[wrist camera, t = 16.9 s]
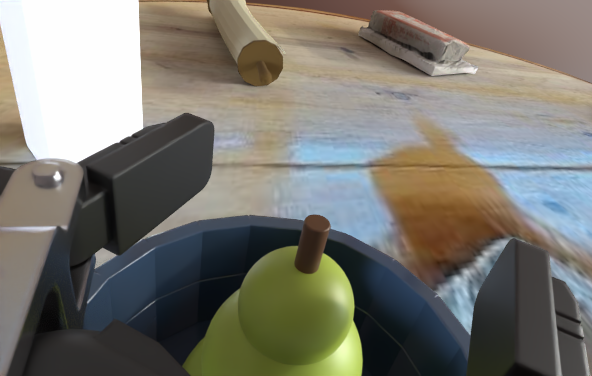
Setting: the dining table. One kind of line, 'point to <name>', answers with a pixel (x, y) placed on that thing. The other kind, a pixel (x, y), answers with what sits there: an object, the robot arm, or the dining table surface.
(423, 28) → the packaged product
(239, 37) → the rolling pin
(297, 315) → the pear
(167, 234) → the pot
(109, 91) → the milk
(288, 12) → the dining table surface
